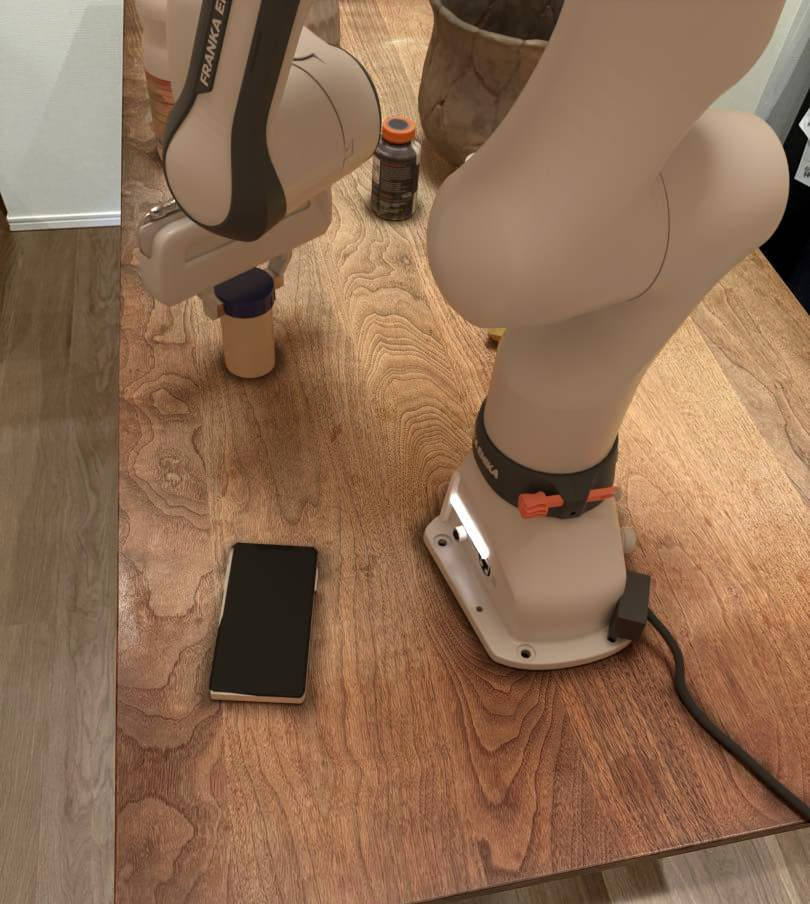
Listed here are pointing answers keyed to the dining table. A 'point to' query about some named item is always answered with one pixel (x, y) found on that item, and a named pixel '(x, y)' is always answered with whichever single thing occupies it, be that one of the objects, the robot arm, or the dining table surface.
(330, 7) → the vase
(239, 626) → the smartphone
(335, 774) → the dining table surface
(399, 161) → the pill bottle
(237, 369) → the jar
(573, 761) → the dining table surface
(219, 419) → the dining table surface
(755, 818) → the dining table surface
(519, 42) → the pot
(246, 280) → the lid
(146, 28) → the fruit juice
